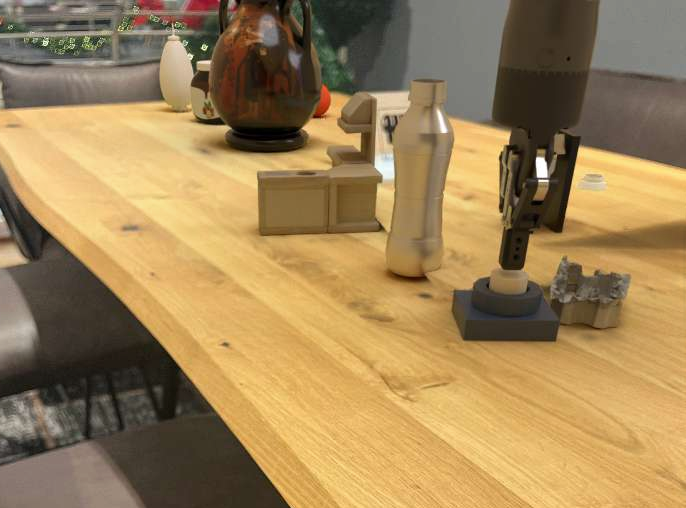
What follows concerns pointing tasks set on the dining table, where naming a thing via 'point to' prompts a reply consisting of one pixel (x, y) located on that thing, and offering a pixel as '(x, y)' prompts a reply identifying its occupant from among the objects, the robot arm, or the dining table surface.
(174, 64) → the sauce bottle
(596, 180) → the lidless jar
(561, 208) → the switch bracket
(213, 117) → the spread jar
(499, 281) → the button
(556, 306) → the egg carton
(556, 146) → the lever
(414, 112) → the plastic bottle
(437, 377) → the dining table surface
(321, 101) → the clementine
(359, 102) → the toy kitchen set
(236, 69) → the amphora vase
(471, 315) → the control block
